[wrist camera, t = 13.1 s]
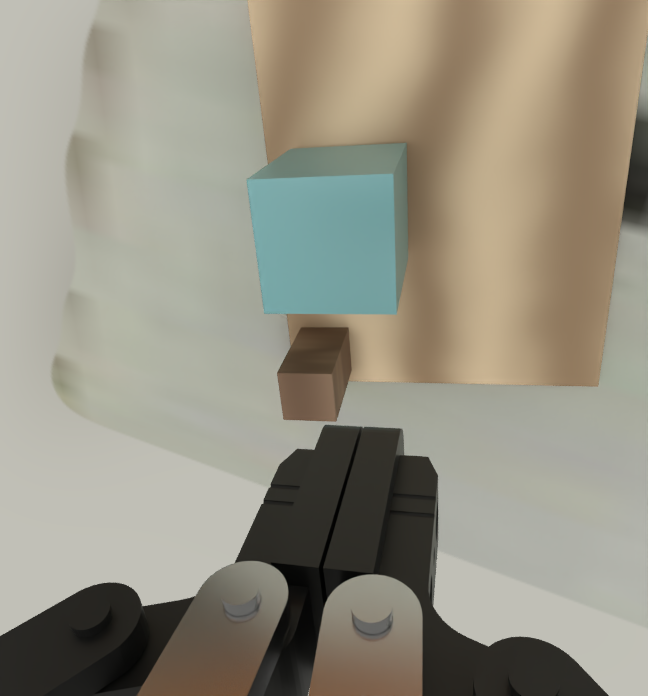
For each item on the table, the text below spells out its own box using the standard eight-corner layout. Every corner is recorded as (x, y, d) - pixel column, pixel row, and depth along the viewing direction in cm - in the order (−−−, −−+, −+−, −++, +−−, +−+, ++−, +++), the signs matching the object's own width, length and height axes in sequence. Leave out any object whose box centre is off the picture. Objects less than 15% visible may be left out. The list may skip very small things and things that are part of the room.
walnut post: (348, 327, 32) (331, 374, 27) (351, 370, 33) (336, 421, 28) (301, 327, 32) (277, 373, 28) (305, 369, 33) (283, 419, 29)
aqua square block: (406, 142, 26) (393, 173, 20) (408, 257, 28) (396, 314, 22) (290, 148, 27) (246, 179, 21) (301, 258, 29) (264, 313, 23)
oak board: (685, -273, 20) (691, -281, 19) (595, 380, 31) (598, 386, 30) (228, -187, 23) (223, -192, 23) (297, 374, 34) (295, 379, 34)
